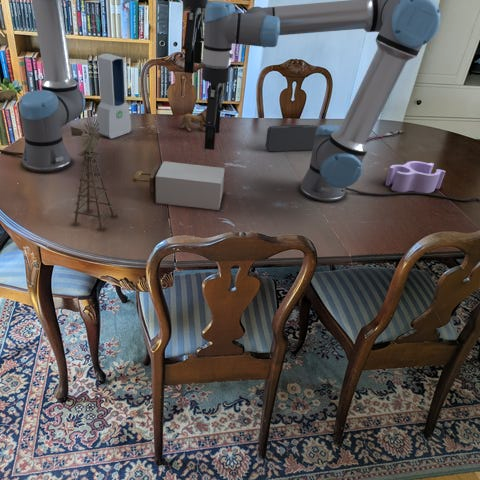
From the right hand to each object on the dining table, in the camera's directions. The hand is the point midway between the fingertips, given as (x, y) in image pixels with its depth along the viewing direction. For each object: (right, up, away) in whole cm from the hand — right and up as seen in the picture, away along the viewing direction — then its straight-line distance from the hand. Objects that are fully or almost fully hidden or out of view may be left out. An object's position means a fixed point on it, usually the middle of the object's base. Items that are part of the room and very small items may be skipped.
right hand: (212, 140), depth 137 cm
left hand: (-7, +25, +9) cm, 27 cm away
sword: (+74, +18, +77) cm, 108 cm away
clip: (+71, -9, +35) cm, 80 cm away
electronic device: (-43, +14, +51) cm, 68 cm away
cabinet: (-8, -16, +11) cm, 21 cm away
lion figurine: (-11, +18, +64) cm, 67 cm away
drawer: (-13, -15, +11) cm, 22 cm away
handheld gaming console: (+29, +8, +54) cm, 62 cm away
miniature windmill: (-33, -24, -5) cm, 41 cm away
